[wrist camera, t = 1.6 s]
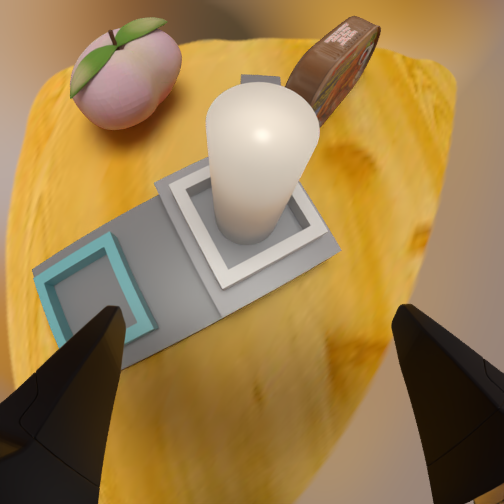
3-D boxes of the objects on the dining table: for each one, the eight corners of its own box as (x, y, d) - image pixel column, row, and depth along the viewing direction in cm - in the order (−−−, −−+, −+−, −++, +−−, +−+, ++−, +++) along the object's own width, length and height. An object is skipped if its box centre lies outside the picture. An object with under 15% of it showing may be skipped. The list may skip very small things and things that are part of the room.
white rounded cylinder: (277, 245, 19) (325, 174, 10) (214, 244, 19) (201, 169, 9) (275, 175, 21) (310, 72, 11) (216, 173, 20) (211, 65, 10)
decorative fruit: (134, 69, 25) (113, -6, 16) (200, 90, 25) (194, 4, 16) (75, 137, 23) (27, 68, 14) (140, 168, 23) (100, 87, 13)
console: (85, 386, 19) (57, 398, 15) (38, 271, 21) (6, 261, 16) (327, 259, 23) (349, 244, 18) (261, 152, 24) (268, 120, 20)
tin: (296, 157, 24) (324, 91, 16) (265, 137, 25) (280, 67, 16) (365, 73, 28) (394, 19, 20) (341, 58, 28) (364, 3, 20)
